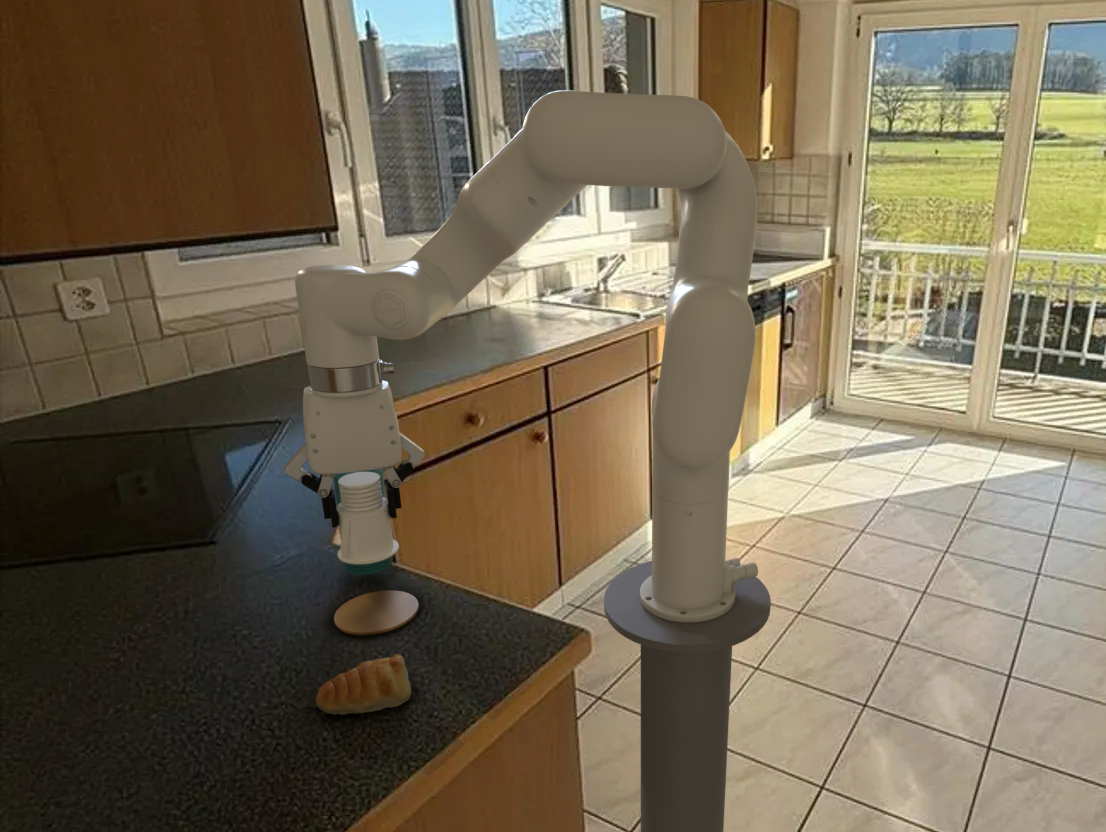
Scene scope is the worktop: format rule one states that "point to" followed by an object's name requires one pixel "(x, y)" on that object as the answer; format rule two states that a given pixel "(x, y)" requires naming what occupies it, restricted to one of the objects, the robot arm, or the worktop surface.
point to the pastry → (366, 687)
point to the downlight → (364, 520)
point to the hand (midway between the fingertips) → (364, 517)
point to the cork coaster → (376, 612)
